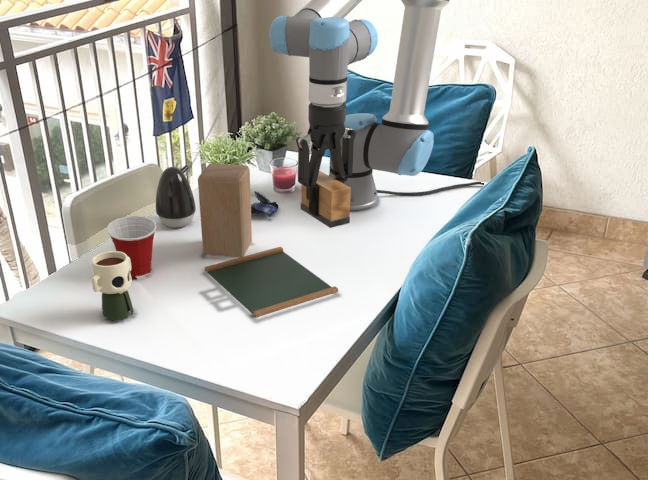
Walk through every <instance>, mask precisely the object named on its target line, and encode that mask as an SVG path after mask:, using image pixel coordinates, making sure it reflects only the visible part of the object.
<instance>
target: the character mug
mask: <svg viewBox="0 0 648 480" xmlns="http://www.w3.org/2000/svg"><path fill="white" fill-rule="evenodd" d="M91 268H92V273H93V276H92V277H91V286H92V291H93V292H94V293H97V292H100V293H101V312H102V316H103V317H104V318H105V319H108V320H110V321H114V322H116V321H118V322H119V321H123V320H127V319H129V314H128V313H129V312H130V316H133V314H134V313H135V311H134V310H135V309H134V306H133V303H132V299H131V297H130V296H131V295H130V293H129V290H130V289H131V286H132V281H133V279H132V278H131V274H130V271H131V261H130V258H129V257H128V256H127V255H126V254H125V253H123V252H119V251H116V250H108V251H103V252H99V253H98V254H95V255H94V256H93V257H92V258H91Z"/></svg>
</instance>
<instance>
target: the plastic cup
mask: <svg viewBox="0 0 648 480" xmlns="http://www.w3.org/2000/svg"><path fill="white" fill-rule="evenodd" d="M157 228H158V227H157V223H156V221H154V220H153V219H152V218H150V217H147V216H144V215H143V216H142V215H125V216H122V217H118V218H115V219H114V220H112V221H110V222H109V224H108V225H107V226H106V232H107V234H108V235H109V237H110V239H111V240H112V243H113V245H114V248H115V251H119V252H123V253H125V254H126V255H127V256H128V257H129V258H130V261H131V271H130V274H131V278H132V280H138V278H137V277H141V276H145V275H147V274H150V273H151V271H152V260H153V250H154V249H153V247H154V237H155V232H156V230H157Z"/></svg>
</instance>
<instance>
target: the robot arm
mask: <svg viewBox="0 0 648 480" xmlns="http://www.w3.org/2000/svg"><path fill="white" fill-rule="evenodd" d="M362 1H363V0H309V2H308V3H306V4H305V5H304V6H303V7H302V8H301V9H300V10H299V11H298V12H297V13H295V15H293V16H290V15H279V16H277V17H276V18H274V19H273V21H272V22H271V25H270V28H269V42H270V43H269V44H270V46H271V49H272V50H273V51H274V52H275V53H277V54H280V55H281V54H282V55H286V56H288V57H291V56H292V57H301V58H308V60H309V61H308V65H309V68H308V72H309V73H308V101H309V102H310V103H309V104H308V118H307V119H308V124H309V128H308V130H307V132H306V133H307V134H305V135H304V136H302V137H300V136H297V137H296V138H295V142H296V147H297V182H298V183H299V184H300V185H301V184H302V185H304V186H306V199H307V200H308V201H309V213H311V214H312V215H314V216H315V217H316V216H318V214H319V187H318V186H316V182H317V178H318V174H319V171H321V166H322V161H323V157H324V156H325V154H326V151H327V150H328V151H329V173H328V176H330V177H332V178H334V179H336V180H338V181H340V182H341V183H343V184H345V185H347V186H349V187H351V195H350V211H351V212H354V211H355V212H356V211H363V210H368V209H371V208H372V207H374V206H376V205H377V203H378V196H379V195H378V194H385V195H392V196H393V195H394V196H422V195H429V194H430V195H431V194H435V193H438V192H442V191H446V190H447V191H448V190H452V189H456V188H463V187H464V188H465V187H472V186H476V185H481V186H484V183H485V182H484V183H481V182H482V181H473V182H468V183H467V182H466V183H457V184H453V185H448V186H443V187H439V188H434V189H431V190H426V191H415V192H414V191H413V192H409V191H408V192H407V191H403V192H402V191H391V190H382V189H377V187H376V183H375V180H374V175H373V172H374V170H376V171H379V172H380V171H381V172H386V173H392V174H395V175H396V174H397V175H399V176H407V177H408V176H409V177H415V176H417V175H419V174H420V173H421V172H422V171H423V170H424V168H425V167H426V165H427V164H428V161H429V159H430V157H431V154H432V151H433V147H434V142H435V140H434V138H435V136H434V133H433V132H432V131H431V130H429V129H428V128H429V121H428V119H427V118H426V116H425V110H426V103H427V97H428V91H429V85H430V79H431V73H432V68H433V62H434V56H435V50H436V44H437V37H438V32H439V25H440V20H441V15H442V10H443V9H444V8H445V7H447V6H448V5H449V3H450V0H400V1H401V3H402V5H403V6H404V11H403V17H402V25H401V31H400V38H399V44H398V51H397V57H396V64H395V71H394V78H393V85H392V92H391V98H390V104H389V105H390V106H389V110H388V111H387V112H386V113H385V114H384V115H383V116H382V118H381V123H380V122H377V116H376V115H375V114H373V113H368V112H367V113H365V112H361V113H359V112H358V113H350V114H347V104H346V103H345V102H346V101H347V92H348V91H347V90H348V71H349V70H348V69H349V66H350V65H351V64H354V63H356V62H361V61H363V60H365V59H366V58H367V57H369V56H371V55H373V53H374V52H375V51H376V49H377V46H378V42H379V36H378V31H377V29H376V27H375V25H374V24H373V23H372V22H371V21H369V20H367V19H360V18H359V19H353V20H351V21H349V20H348V19H346V16H348V15H349V14H350V13H351V12H352V11H353V10H354V9H355V8H356V7H357V6H358V5H359V4H360V3H361V2H362ZM310 152H311V153H310Z"/></svg>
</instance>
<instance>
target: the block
mask: <svg viewBox="0 0 648 480" xmlns="http://www.w3.org/2000/svg"><path fill="white" fill-rule="evenodd" d="M197 188H198V189H197V190H198V202H199V203H198V204H199V214H200V215H199V217H200V228H201V229H200V230H201V242H202V254H203V255H206V256H217V257H218V256H219V257H230V258H240V257H244V256H246V253H247V251H248V249H250V245H251V244H252V242H253V234H252V233H253V232H252V231H253V230H252V214H251V204H252V203H251V202H252V201H251V199H252V198H251V170H250V167H249V165H245V164H231V163H229V164H228V163H213V162H212V163H209V164H208V165H207V166H206V167H205V168H204V170H203V171H202V172H201V173H200V174H199V175H198V177H197Z"/></svg>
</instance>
